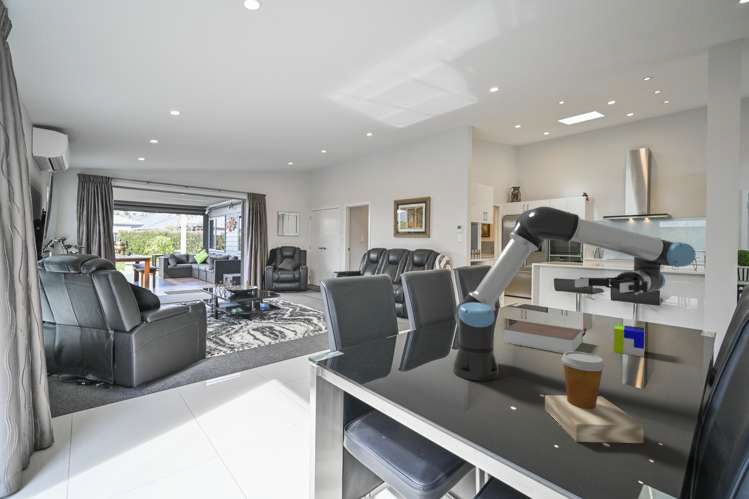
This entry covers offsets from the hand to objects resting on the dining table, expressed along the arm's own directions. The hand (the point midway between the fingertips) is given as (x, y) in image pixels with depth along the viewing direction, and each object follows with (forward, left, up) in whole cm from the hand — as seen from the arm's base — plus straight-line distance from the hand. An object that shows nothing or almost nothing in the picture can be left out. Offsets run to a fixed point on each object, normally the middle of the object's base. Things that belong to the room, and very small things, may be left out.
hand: (597, 285), depth 109 cm
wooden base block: (-16, -24, -32) cm, 43 cm away
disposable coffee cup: (-17, -21, -28) cm, 39 cm away
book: (+6, +49, -33) cm, 60 cm away
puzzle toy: (+37, +38, -32) cm, 62 cm away
